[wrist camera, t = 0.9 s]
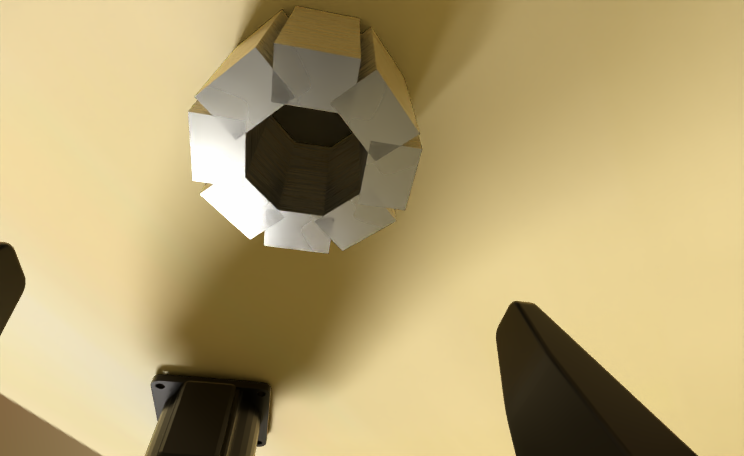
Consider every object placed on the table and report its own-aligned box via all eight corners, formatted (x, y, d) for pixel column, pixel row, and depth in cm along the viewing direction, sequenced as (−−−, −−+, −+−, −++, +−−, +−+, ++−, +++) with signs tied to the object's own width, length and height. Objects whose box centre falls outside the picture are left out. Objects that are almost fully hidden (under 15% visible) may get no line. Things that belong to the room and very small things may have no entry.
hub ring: (383, 187, 18) (390, 261, 14) (230, 165, 17) (196, 237, 13) (420, 30, 14) (443, 73, 10) (229, -8, 13) (182, 25, 10)
